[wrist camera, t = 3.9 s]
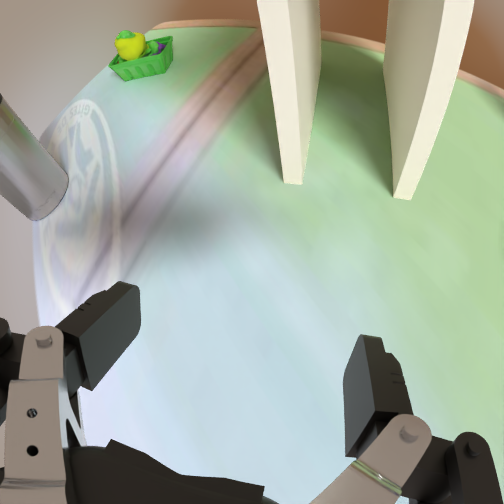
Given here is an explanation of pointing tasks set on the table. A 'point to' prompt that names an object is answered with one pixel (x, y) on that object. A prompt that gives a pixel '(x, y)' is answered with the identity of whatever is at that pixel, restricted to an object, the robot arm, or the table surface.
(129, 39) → the fruit basket
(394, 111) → the stand
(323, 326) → the table surface
